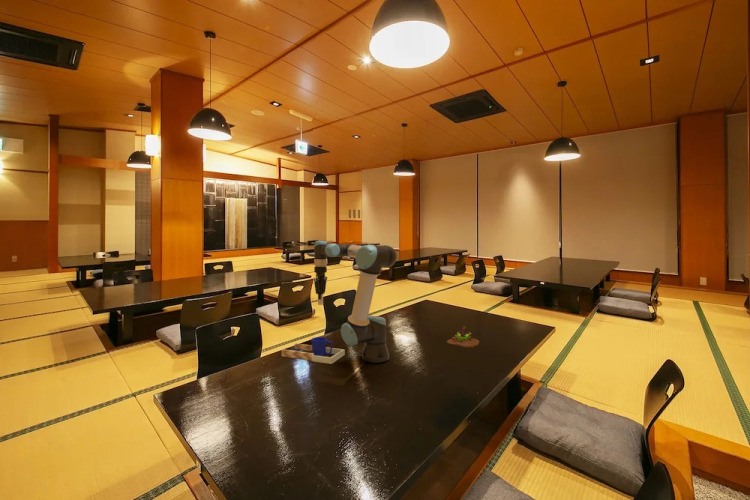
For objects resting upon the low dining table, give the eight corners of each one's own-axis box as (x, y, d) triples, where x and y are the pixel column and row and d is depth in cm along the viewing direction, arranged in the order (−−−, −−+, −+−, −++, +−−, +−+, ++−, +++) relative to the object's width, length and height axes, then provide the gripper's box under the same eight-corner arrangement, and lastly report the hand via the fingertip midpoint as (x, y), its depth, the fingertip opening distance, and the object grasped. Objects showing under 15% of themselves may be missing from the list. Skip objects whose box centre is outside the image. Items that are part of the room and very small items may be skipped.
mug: (330, 360, 175) (330, 341, 175) (309, 358, 177) (309, 340, 177) (334, 355, 183) (334, 337, 183) (314, 354, 186) (314, 336, 186)
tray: (344, 354, 184) (344, 349, 184) (331, 363, 169) (331, 358, 169) (326, 352, 188) (326, 347, 188) (311, 361, 173) (311, 355, 173)
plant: (483, 343, 209) (483, 326, 209) (473, 351, 193) (473, 332, 193) (454, 338, 221) (454, 322, 221) (442, 345, 205) (442, 327, 205)
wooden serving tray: (325, 352, 187) (325, 346, 187) (312, 360, 174) (312, 354, 174) (296, 349, 195) (296, 343, 195) (281, 356, 181) (281, 350, 181)
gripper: (320, 265, 205) (320, 302, 205) (309, 266, 193) (309, 305, 193) (331, 265, 203) (331, 303, 203) (320, 266, 191) (320, 306, 190)
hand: (320, 304), depth 198 cm, fingers closed
